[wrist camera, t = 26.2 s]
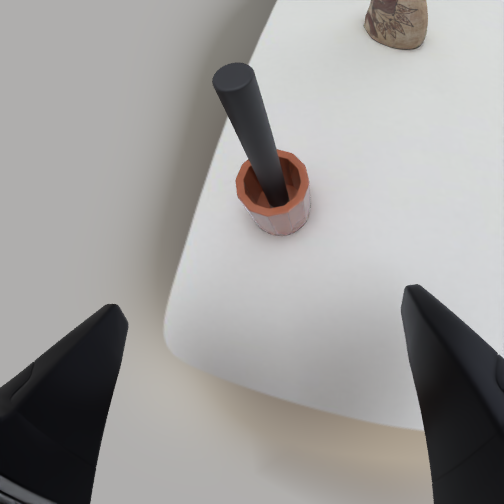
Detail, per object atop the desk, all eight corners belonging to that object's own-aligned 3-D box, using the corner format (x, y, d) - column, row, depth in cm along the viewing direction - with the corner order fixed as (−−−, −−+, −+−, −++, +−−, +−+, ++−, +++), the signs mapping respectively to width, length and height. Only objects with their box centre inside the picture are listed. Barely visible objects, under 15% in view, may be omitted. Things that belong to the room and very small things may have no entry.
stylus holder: (315, 229, 22) (315, 207, 17) (256, 240, 23) (240, 221, 18) (303, 176, 23) (299, 143, 18) (248, 187, 24) (232, 157, 19)
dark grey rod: (291, 211, 22) (256, 85, 9) (271, 215, 22) (213, 95, 9) (288, 192, 22) (250, 57, 9) (268, 196, 22) (210, 68, 9)
